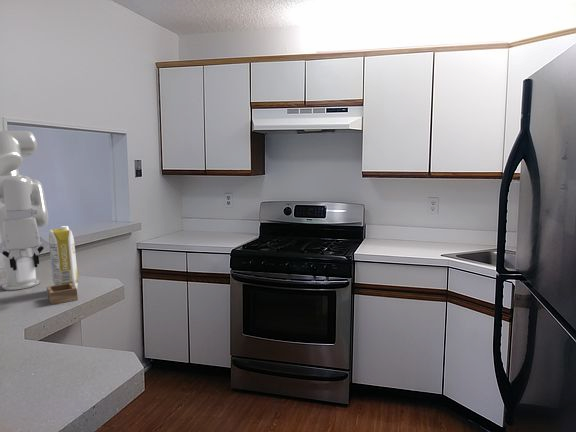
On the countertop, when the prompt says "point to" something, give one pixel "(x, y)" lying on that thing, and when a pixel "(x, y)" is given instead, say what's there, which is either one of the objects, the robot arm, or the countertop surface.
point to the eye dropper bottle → (25, 267)
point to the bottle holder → (62, 293)
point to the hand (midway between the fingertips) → (25, 267)
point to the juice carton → (63, 256)
